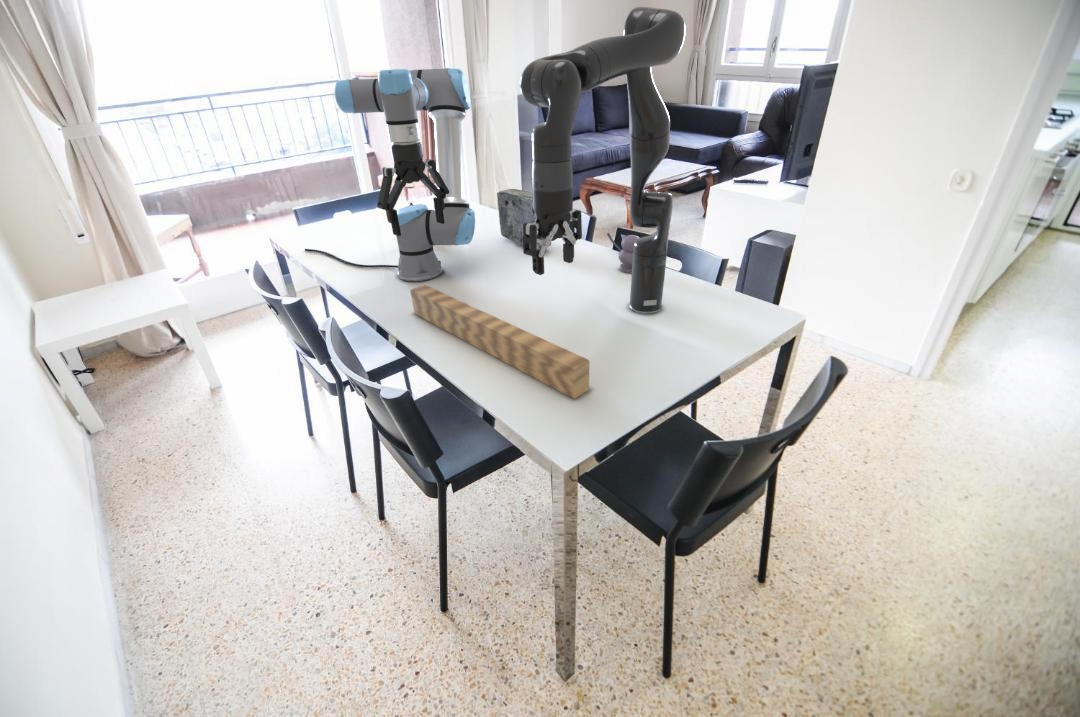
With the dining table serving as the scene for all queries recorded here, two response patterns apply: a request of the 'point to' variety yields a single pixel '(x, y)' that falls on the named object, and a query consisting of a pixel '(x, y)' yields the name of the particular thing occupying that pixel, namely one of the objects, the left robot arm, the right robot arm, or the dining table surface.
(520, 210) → the concrete block
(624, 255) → the cat figurine
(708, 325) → the dining table surface
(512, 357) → the beam
